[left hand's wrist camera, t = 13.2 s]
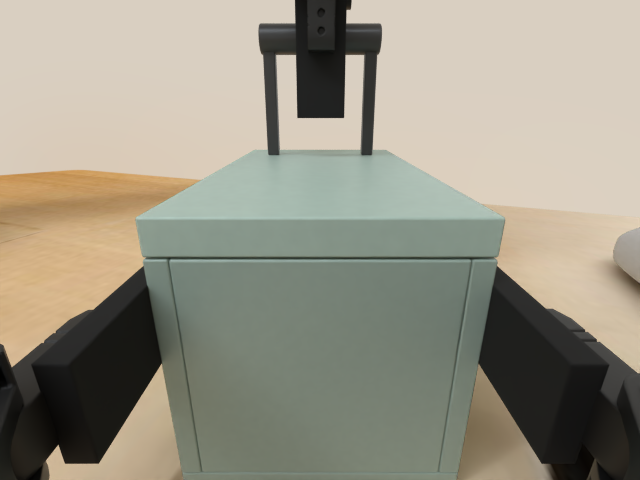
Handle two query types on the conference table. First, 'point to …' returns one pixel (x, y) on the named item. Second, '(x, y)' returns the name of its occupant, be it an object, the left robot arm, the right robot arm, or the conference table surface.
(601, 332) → the conference table surface
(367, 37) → the lid
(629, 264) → the projector
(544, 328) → the left robot arm
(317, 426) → the chest
